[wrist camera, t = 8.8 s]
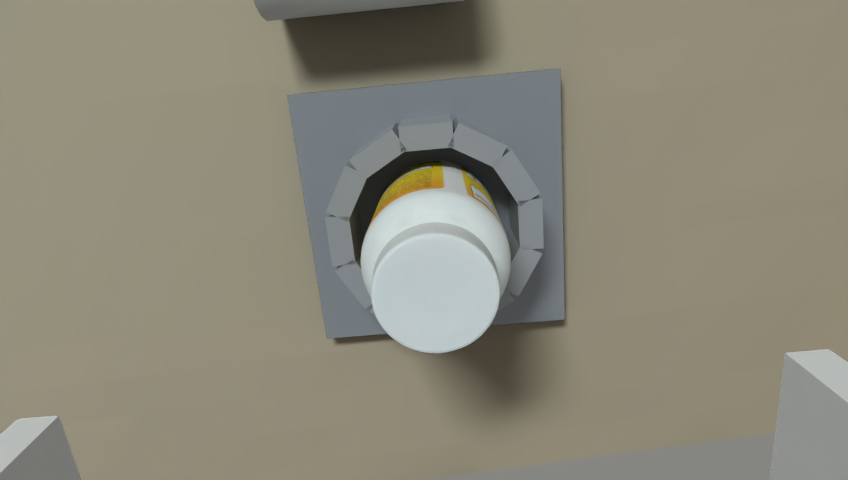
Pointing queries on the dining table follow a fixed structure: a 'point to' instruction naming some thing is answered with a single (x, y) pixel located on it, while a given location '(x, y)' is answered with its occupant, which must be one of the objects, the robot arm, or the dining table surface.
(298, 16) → the pipe stub
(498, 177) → the coupling socket
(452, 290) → the supplement bottle
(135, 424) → the dining table surface
